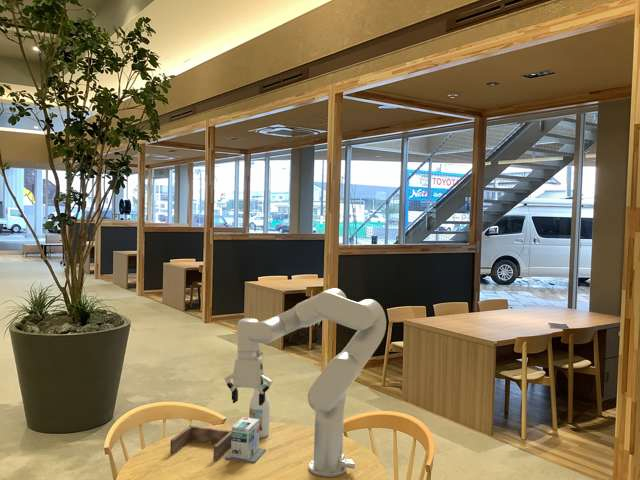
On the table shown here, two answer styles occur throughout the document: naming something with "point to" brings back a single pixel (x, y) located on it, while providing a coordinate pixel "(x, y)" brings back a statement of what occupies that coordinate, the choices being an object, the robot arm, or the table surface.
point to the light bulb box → (245, 438)
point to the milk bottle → (260, 412)
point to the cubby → (203, 439)
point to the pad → (251, 459)
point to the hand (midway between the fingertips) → (248, 403)
